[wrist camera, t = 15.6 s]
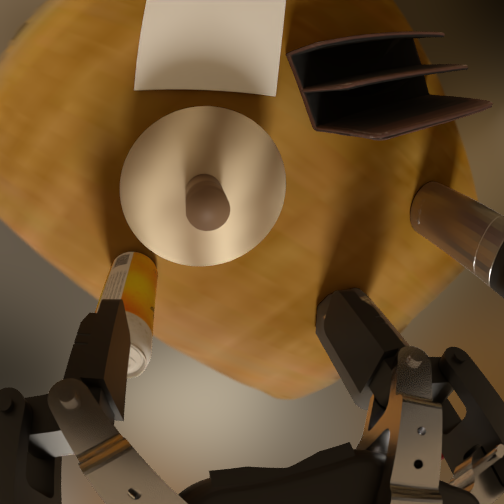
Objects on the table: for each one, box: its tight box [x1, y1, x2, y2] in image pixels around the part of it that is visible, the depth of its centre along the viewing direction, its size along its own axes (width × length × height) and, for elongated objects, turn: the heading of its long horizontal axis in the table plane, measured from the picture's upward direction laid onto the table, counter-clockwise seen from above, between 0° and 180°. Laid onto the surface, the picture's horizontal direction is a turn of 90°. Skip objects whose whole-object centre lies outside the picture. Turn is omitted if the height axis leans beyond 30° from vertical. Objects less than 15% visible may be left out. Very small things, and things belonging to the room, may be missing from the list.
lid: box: [120, 106, 286, 266], centre depth 23 cm, size 15×15×6 cm
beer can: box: [95, 252, 158, 379], centre depth 27 cm, size 6×6×15 cm
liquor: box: [316, 288, 444, 460], centre depth 32 cm, size 9×9×30 cm
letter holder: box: [286, 31, 492, 140], centre depth 22 cm, size 10×20×14 cm, turn 111°
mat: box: [134, 0, 286, 96], centre depth 22 cm, size 15×15×1 cm
